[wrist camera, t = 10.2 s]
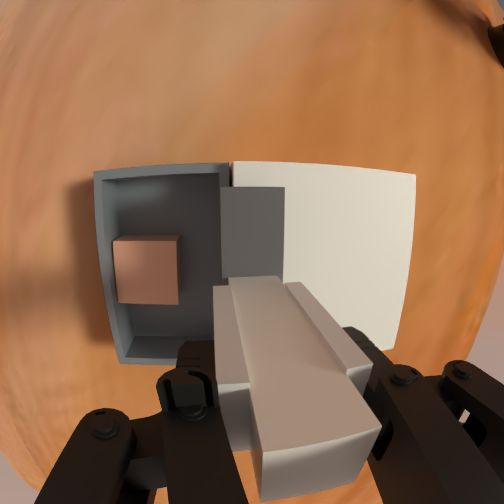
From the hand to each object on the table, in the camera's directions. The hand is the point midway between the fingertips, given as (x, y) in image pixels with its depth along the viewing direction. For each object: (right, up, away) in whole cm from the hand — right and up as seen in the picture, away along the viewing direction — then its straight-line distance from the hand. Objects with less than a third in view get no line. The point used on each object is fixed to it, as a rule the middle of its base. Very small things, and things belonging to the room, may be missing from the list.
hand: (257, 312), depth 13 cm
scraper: (-1, +1, +4) cm, 5 cm away
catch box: (-7, +2, +9) cm, 11 cm away
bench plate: (+4, +2, +10) cm, 12 cm away
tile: (-8, +1, +6) cm, 10 cm away
